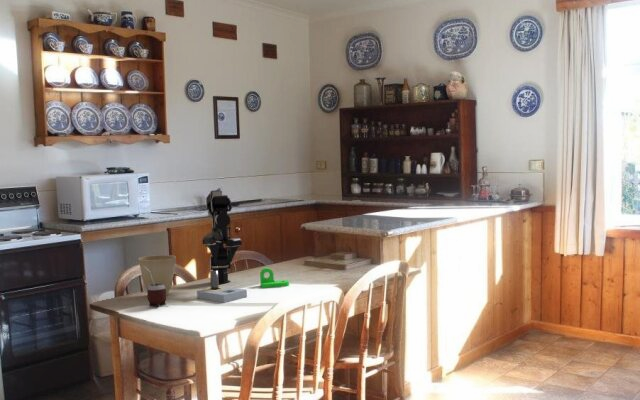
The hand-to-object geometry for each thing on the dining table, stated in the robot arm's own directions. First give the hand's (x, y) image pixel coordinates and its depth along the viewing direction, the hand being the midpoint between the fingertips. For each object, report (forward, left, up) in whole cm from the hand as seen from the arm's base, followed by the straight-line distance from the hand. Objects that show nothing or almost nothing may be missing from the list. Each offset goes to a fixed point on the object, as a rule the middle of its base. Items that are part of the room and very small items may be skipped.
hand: (222, 261), depth 279 cm
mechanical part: (+14, +17, -12) cm, 25 cm away
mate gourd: (0, -35, -12) cm, 37 cm away
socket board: (+12, -12, -12) cm, 21 cm away
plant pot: (-14, -23, -12) cm, 30 cm away
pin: (+8, -12, -12) cm, 18 cm away
